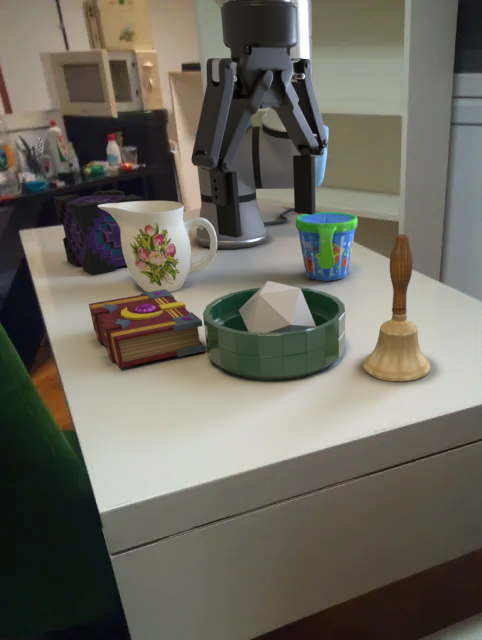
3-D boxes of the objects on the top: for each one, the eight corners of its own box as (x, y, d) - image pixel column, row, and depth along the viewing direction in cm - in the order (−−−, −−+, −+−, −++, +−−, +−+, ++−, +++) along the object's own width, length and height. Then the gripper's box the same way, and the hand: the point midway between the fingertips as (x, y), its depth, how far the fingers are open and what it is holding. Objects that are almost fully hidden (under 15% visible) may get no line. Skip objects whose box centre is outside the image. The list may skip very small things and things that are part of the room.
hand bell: (383, 387, 69) (390, 247, 60) (351, 360, 75) (354, 230, 67) (443, 374, 71) (458, 239, 63) (408, 349, 78) (417, 223, 70)
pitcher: (224, 292, 99) (216, 205, 92) (112, 301, 95) (94, 212, 88) (218, 273, 108) (210, 193, 101) (115, 281, 104) (99, 199, 97)
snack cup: (304, 263, 113) (302, 207, 108) (359, 264, 112) (360, 208, 107) (290, 289, 100) (288, 226, 95) (352, 290, 99) (353, 227, 93)
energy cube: (125, 251, 122) (114, 189, 116) (153, 262, 114) (142, 197, 108) (67, 262, 115) (53, 197, 109) (92, 275, 108) (78, 206, 101)
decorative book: (119, 372, 72) (111, 334, 70) (90, 330, 85) (83, 296, 82) (206, 353, 77) (202, 316, 75) (168, 315, 89) (163, 283, 87)
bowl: (268, 319, 88) (266, 279, 85) (369, 345, 79) (371, 302, 76) (179, 359, 76) (173, 315, 73) (288, 396, 67) (285, 347, 64)
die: (328, 350, 77) (309, 278, 78) (307, 341, 69) (286, 260, 69) (269, 369, 80) (252, 298, 80) (242, 362, 71) (222, 283, 72)
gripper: (192, -14, 48) (218, 252, 59) (359, 6, 65) (354, 208, 76) (131, -7, 51) (167, 241, 62) (304, 9, 69) (308, 202, 80)
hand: (270, 223), depth 69 cm, fingers open, 13 cm apart
